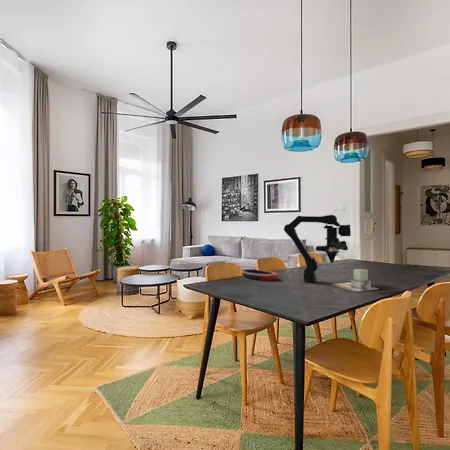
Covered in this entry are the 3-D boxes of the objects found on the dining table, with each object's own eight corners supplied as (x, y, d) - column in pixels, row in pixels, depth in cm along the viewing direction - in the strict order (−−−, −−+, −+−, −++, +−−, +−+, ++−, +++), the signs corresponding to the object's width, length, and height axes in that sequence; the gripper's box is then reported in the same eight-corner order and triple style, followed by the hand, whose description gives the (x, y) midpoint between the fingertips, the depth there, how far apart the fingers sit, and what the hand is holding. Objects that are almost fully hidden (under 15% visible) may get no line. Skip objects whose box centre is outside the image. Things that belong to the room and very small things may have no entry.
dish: (251, 274, 227) (251, 267, 227) (284, 280, 203) (284, 272, 203) (235, 276, 217) (235, 269, 217) (267, 283, 193) (267, 275, 193)
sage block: (360, 281, 168) (360, 270, 168) (353, 280, 173) (353, 269, 173) (367, 281, 170) (367, 270, 170) (360, 279, 175) (360, 268, 175)
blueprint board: (355, 293, 164) (355, 282, 164) (329, 285, 183) (329, 276, 183) (379, 290, 169) (379, 280, 169) (352, 283, 189) (352, 274, 189)
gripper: (327, 237, 175) (327, 265, 175) (354, 236, 181) (354, 263, 182) (315, 236, 186) (315, 262, 186) (341, 235, 192) (341, 261, 192)
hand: (331, 262), depth 186 cm, fingers closed
